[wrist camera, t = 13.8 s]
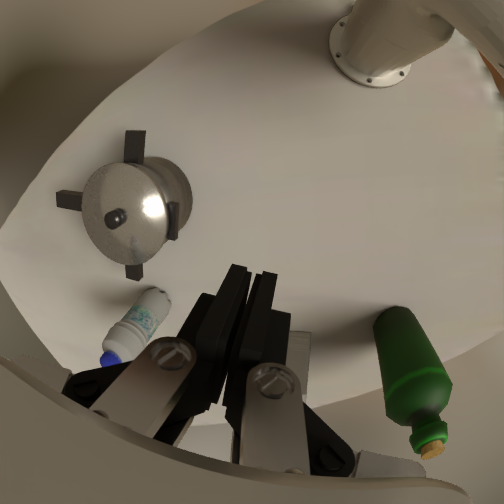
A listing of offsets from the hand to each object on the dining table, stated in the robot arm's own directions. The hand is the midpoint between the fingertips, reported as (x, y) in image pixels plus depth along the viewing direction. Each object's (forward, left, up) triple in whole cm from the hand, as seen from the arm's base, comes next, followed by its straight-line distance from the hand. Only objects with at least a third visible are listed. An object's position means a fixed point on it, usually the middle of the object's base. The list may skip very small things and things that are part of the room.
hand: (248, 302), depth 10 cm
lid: (+7, -21, -23) cm, 32 cm away
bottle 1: (+27, -20, -33) cm, 47 cm away
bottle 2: (+22, +25, -33) cm, 47 cm away
